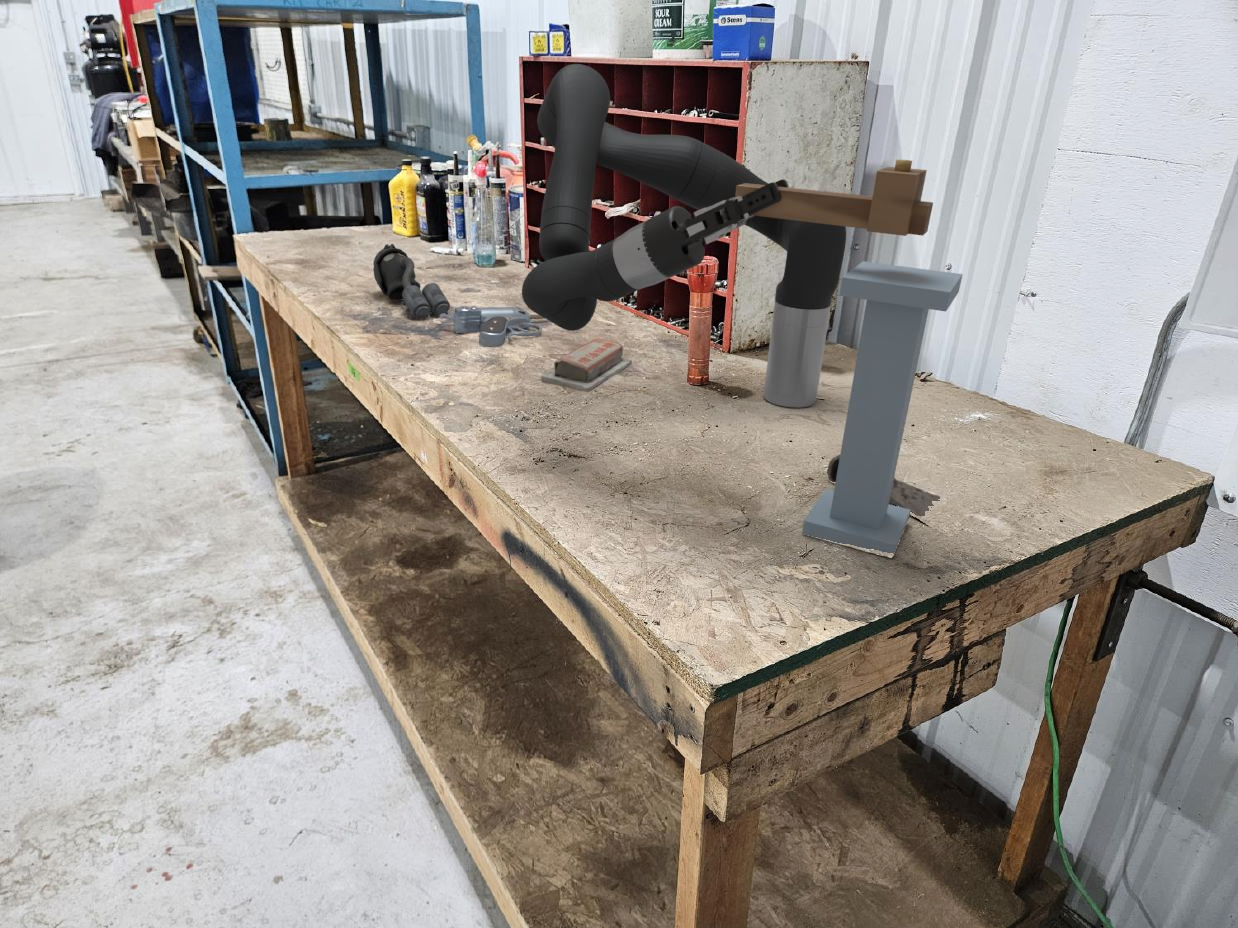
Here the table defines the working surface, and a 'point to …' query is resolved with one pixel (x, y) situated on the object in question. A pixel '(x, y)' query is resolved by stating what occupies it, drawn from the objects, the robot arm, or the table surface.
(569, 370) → the packaged product
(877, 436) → the stand
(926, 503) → the axe head
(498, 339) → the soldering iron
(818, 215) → the marking gauge
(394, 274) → the gas mask
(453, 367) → the table surface
